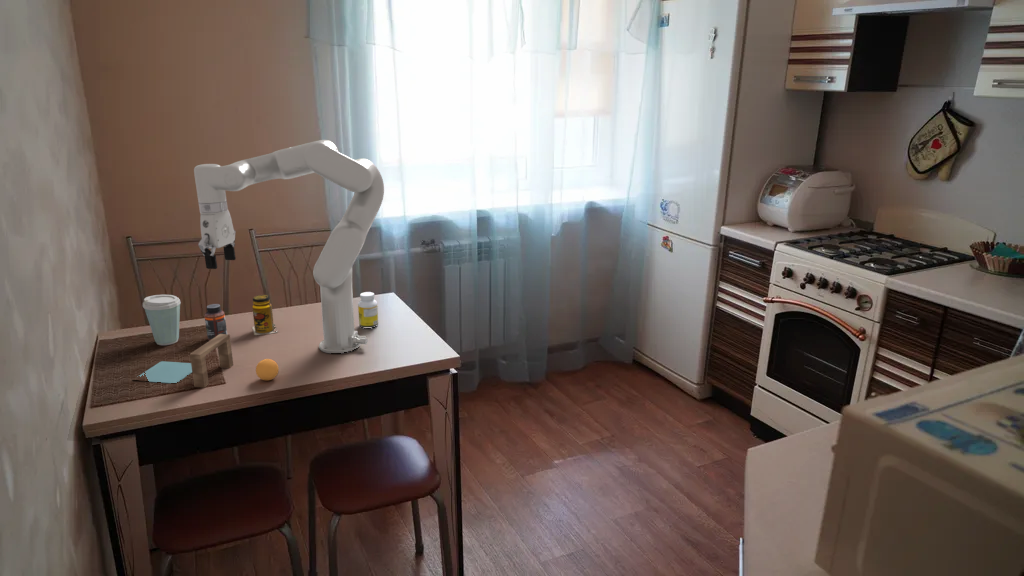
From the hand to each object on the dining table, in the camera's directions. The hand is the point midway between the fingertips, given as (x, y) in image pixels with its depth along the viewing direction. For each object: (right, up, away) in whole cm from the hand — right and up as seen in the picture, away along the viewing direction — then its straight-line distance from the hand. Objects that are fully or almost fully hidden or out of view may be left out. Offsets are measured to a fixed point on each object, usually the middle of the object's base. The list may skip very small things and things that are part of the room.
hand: (221, 264), depth 197 cm
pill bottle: (+38, -20, +29) cm, 52 cm away
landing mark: (-11, -31, -9) cm, 34 cm away
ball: (+18, -30, -13) cm, 37 cm away
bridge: (+2, -32, -10) cm, 34 cm away
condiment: (+4, -21, +24) cm, 33 cm away
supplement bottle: (-8, -24, +16) cm, 30 cm away
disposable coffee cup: (-23, -24, +13) cm, 36 cm away
